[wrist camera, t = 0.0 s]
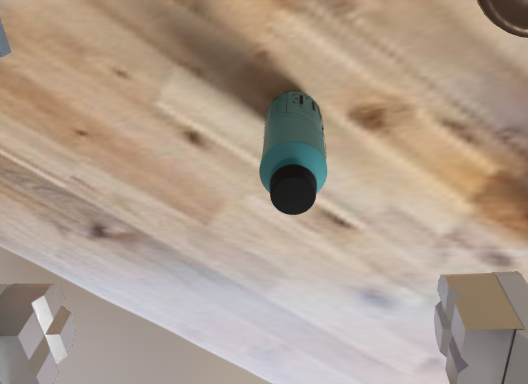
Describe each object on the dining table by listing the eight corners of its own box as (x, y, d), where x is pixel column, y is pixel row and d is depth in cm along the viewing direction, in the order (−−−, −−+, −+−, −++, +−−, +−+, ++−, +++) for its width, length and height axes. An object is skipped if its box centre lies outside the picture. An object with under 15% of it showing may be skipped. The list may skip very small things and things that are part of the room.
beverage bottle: (263, 132, 61) (249, 225, 44) (270, 79, 58) (259, 157, 40) (316, 140, 61) (323, 236, 44) (327, 88, 58) (339, 169, 41)
